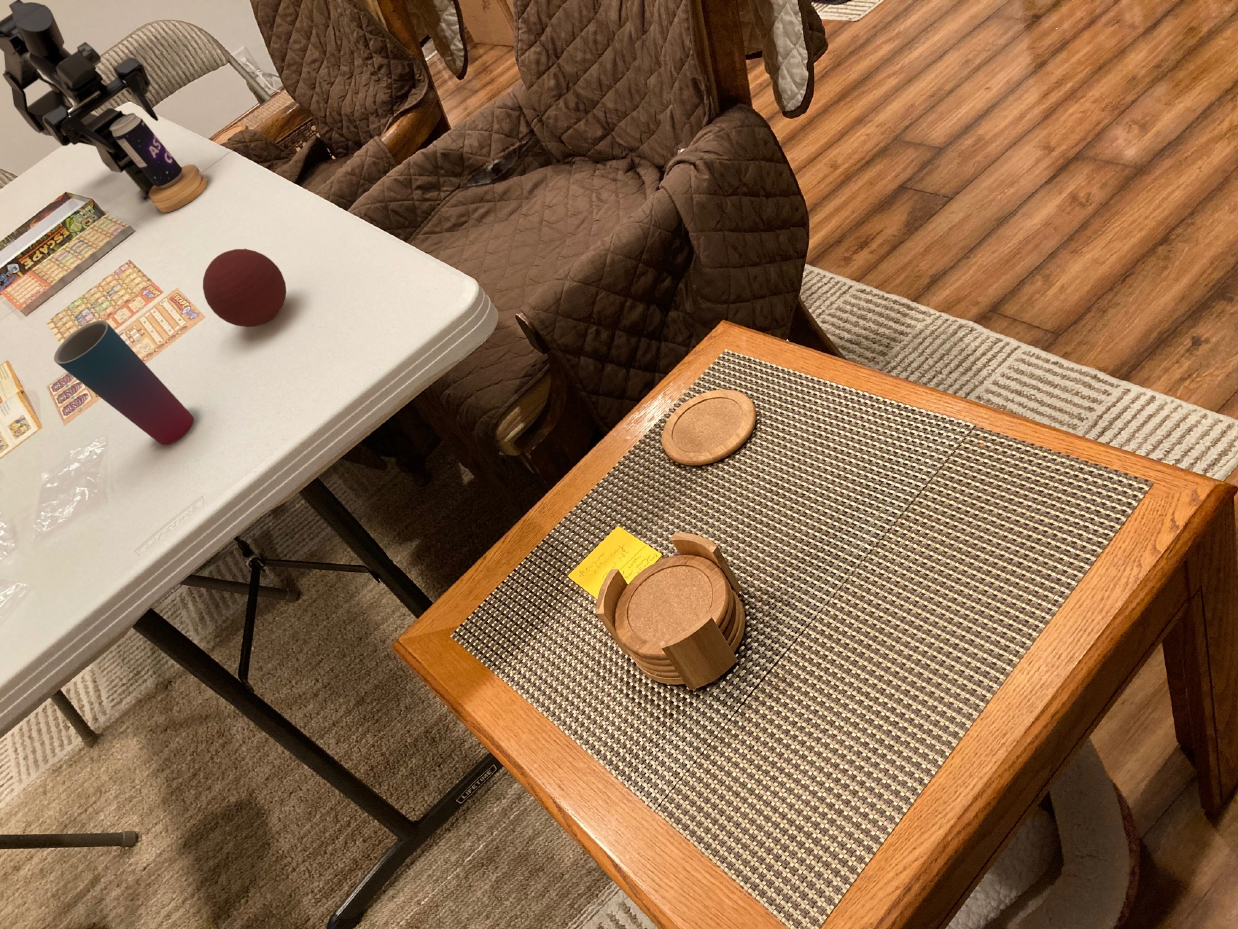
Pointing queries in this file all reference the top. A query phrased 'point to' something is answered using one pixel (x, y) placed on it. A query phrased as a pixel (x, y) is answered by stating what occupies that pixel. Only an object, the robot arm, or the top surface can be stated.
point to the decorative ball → (244, 287)
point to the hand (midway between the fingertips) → (135, 134)
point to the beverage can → (146, 150)
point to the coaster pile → (179, 190)
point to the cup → (123, 381)
